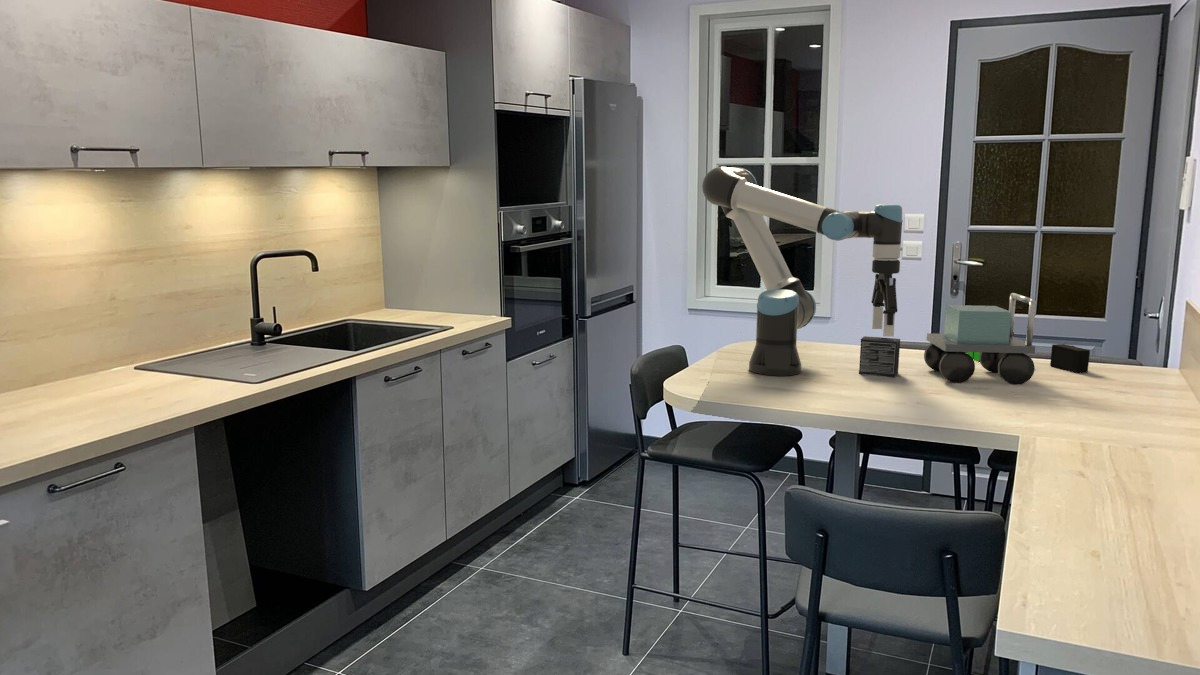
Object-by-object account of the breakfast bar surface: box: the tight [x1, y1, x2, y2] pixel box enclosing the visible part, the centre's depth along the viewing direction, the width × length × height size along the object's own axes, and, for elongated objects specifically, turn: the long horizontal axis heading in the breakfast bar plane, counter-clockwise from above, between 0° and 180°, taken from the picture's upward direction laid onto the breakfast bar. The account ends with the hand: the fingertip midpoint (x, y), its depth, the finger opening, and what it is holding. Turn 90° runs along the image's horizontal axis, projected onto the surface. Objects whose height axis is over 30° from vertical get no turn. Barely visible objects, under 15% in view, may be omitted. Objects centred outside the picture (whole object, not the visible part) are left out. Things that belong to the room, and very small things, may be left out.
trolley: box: [923, 292, 1037, 386], centre depth 252 cm, size 25×18×24 cm
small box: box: [858, 335, 901, 378], centre depth 257 cm, size 11×6×10 cm, turn 65°
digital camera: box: [1049, 343, 1091, 374], centre depth 265 cm, size 10×5×7 cm, turn 15°
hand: (882, 332), depth 255 cm, fingers open, 13 cm apart
